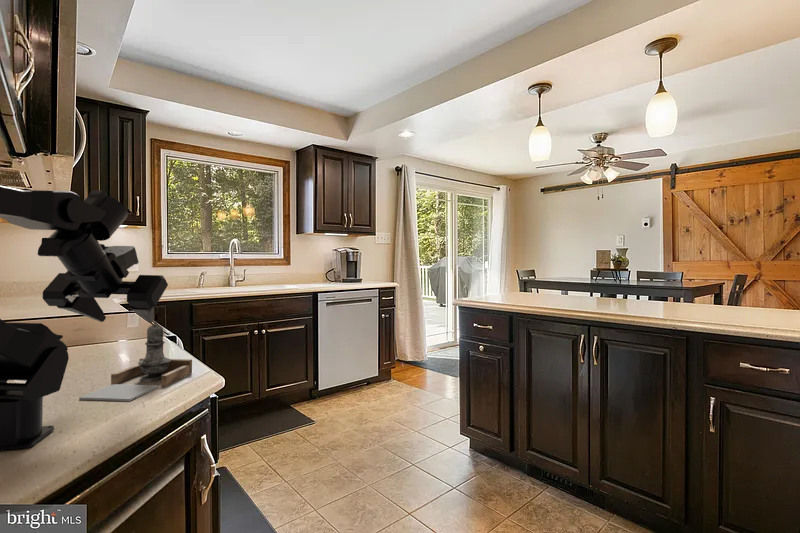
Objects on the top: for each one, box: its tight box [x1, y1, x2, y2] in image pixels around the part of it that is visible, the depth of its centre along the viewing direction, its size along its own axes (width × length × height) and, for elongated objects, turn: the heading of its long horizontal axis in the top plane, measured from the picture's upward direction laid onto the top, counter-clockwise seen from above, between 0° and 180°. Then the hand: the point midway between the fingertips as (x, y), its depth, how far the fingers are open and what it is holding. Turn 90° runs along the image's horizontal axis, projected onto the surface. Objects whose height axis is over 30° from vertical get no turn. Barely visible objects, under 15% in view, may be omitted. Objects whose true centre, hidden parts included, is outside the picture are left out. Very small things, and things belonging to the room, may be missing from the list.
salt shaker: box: [137, 320, 172, 383], centre depth 86 cm, size 6×6×12 cm
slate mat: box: [78, 383, 159, 402], centre depth 76 cm, size 8×9×1 cm
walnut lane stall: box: [110, 357, 193, 387], centre depth 86 cm, size 10×11×3 cm
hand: (127, 320), depth 78 cm, fingers open, 9 cm apart
